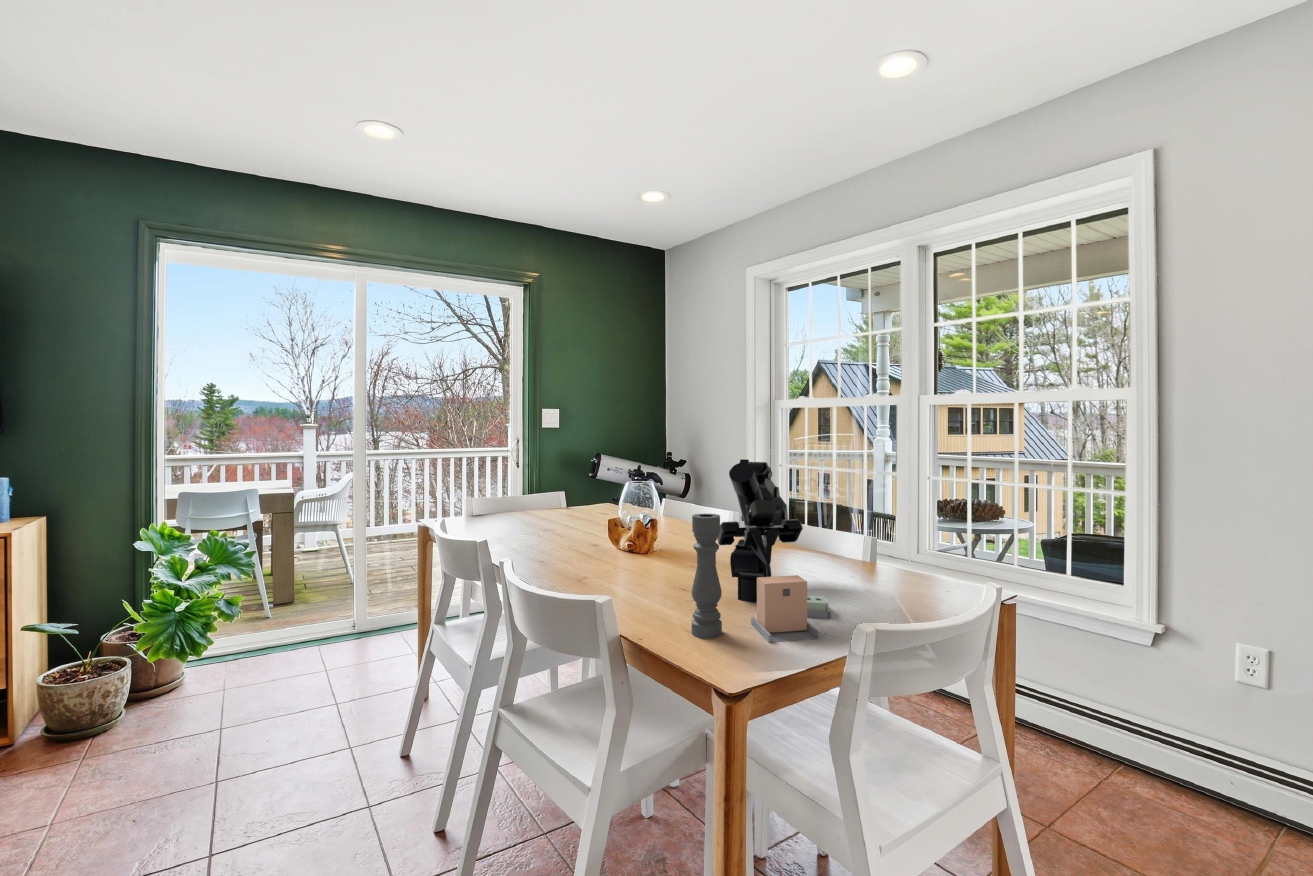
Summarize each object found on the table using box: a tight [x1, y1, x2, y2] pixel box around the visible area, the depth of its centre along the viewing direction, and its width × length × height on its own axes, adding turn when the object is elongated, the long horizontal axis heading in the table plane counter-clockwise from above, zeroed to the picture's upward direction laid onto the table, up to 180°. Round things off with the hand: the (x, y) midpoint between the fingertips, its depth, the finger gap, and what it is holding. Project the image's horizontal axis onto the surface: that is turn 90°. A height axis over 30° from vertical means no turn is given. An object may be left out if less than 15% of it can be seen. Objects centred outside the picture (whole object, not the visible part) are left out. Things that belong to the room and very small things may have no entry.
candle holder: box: [691, 513, 723, 640], centre depth 129 cm, size 6×6×25 cm
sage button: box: [807, 595, 827, 611], centre depth 143 cm, size 5×5×2 cm
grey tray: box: [750, 616, 821, 643], centre depth 131 cm, size 11×11×2 cm
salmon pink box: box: [756, 575, 808, 633], centre depth 132 cm, size 5×9×10 cm, turn 100°
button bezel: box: [807, 602, 834, 620], centre depth 143 cm, size 8×8×2 cm
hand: (768, 564), depth 140 cm, fingers closed
